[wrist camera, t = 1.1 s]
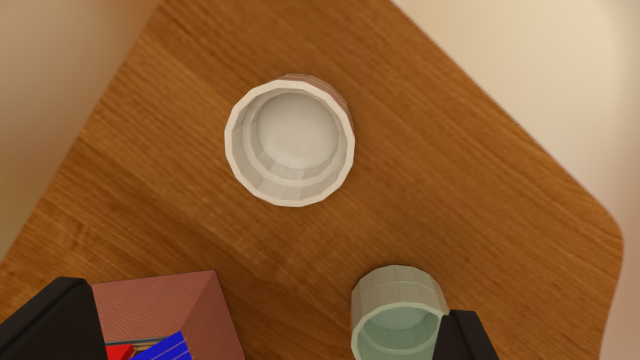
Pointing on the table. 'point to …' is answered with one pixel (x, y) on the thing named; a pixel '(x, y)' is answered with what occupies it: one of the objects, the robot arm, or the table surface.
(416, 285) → the dish
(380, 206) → the table surface
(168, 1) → the table surface
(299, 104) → the dish
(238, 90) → the table surface
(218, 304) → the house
